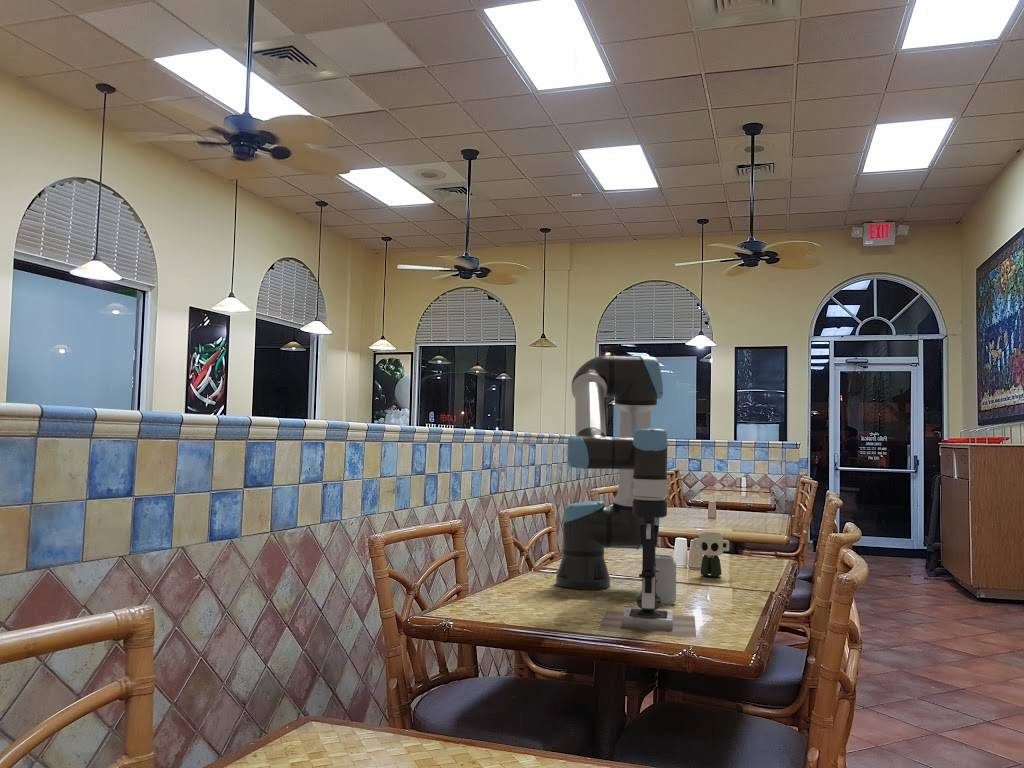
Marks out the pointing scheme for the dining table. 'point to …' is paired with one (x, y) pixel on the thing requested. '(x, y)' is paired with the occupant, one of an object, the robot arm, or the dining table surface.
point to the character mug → (711, 552)
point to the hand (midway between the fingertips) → (648, 604)
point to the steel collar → (648, 619)
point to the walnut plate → (680, 628)
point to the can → (666, 579)
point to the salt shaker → (648, 611)
